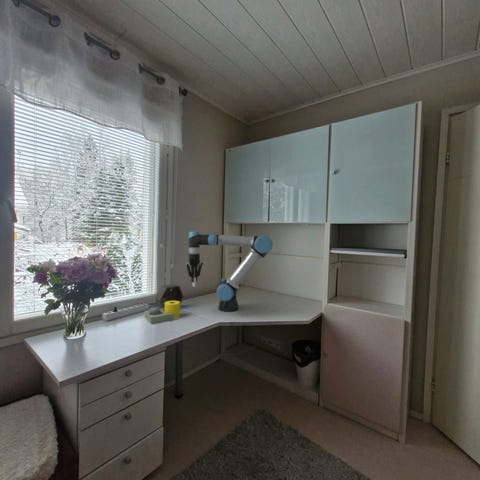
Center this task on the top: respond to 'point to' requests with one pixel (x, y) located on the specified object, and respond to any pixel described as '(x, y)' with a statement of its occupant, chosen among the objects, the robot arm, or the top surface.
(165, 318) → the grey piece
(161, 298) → the planter
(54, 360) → the top surface
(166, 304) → the yellow cylinder with hole
